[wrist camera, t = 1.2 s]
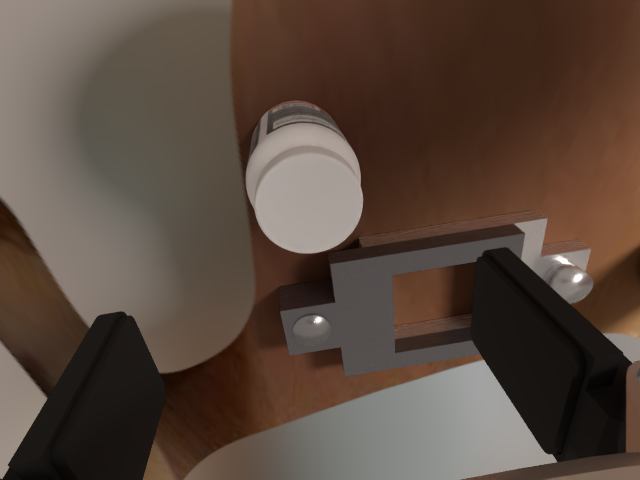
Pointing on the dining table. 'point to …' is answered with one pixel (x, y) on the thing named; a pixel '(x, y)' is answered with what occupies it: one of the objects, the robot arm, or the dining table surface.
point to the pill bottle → (303, 178)
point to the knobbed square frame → (409, 256)
